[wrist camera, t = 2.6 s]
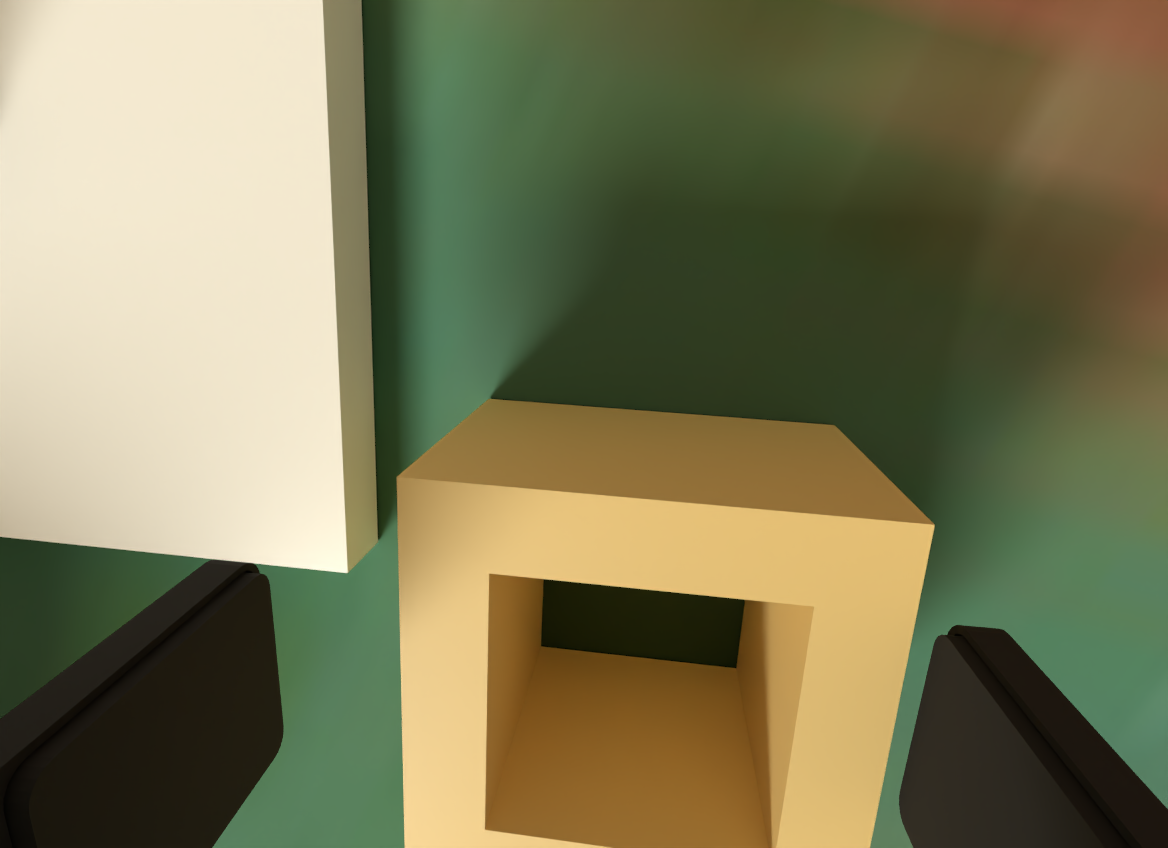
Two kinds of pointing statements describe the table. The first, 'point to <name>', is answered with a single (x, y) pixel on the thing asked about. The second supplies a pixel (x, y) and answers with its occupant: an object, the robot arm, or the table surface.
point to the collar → (641, 685)
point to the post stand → (186, 279)
